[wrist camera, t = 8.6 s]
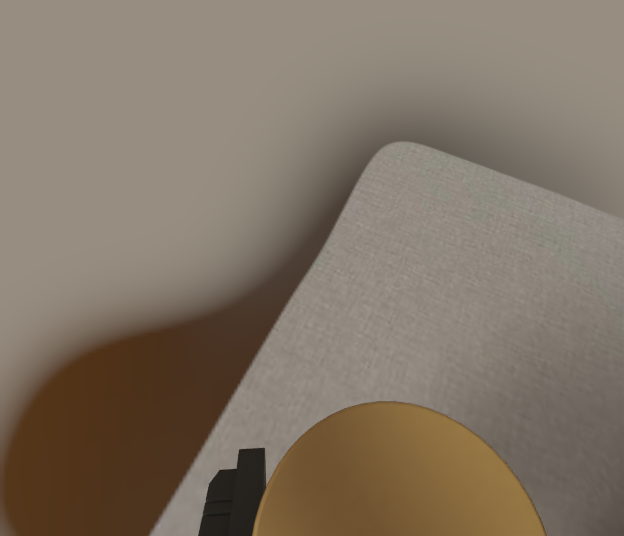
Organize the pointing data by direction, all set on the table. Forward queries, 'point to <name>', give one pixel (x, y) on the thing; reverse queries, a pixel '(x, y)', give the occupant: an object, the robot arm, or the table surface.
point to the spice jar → (394, 480)
